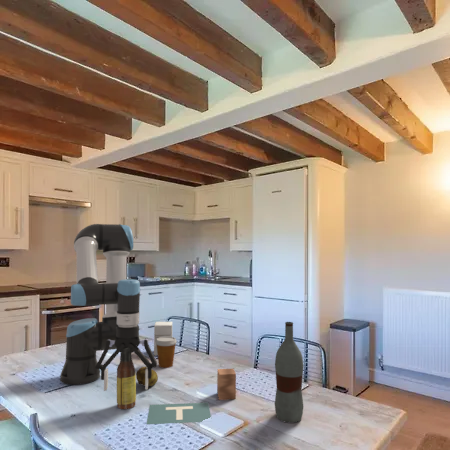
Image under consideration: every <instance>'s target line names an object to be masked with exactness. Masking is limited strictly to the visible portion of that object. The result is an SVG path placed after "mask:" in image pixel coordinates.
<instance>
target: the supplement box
mask: <svg viewBox="0 0 450 450" xmlns="http://www.w3.org/2000/svg"><path fill="white" fill-rule="evenodd" d="M153 327H154V333H153V336H154V337H153V338H154V339H153V355H154V357H156V355H158V353H157V345H156V340H157V338H160V337H173V321H155V323H154V326H153Z"/></svg>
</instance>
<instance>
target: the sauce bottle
mask: <svg viewBox="0 0 450 450" xmlns="http://www.w3.org/2000/svg"><path fill="white" fill-rule="evenodd" d="M119 353H120V358H119V364H118V366H117V367H116V368H117V369H116V403H117V407H116V408H118V409H119V410H120V409H121V410H131V409H133V408H134V407H135V406H136V401H137V389H136V388H137V384H136V381H137V377H136V373H137V370H136V368H135V365H134V361H133V357H132V356H133V355H132V354H133V353H130V348H123V349H122V350H121V352H119Z"/></svg>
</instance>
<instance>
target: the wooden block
mask: <svg viewBox="0 0 450 450" xmlns="http://www.w3.org/2000/svg"><path fill="white" fill-rule="evenodd" d="M216 372H217V375H216V377H217V381H216V383H217V385H216V387H217V388H216V390H217V391H216V394H217V393H218V394H217V398H218V397H219V398H218V400H219V401H222V400H223V401H224V400H237V399H236V398H237V395H236V393H237V373H236V371H235V369H234V368H218V369H217V371H216Z"/></svg>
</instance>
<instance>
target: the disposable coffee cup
mask: <svg viewBox="0 0 450 450" xmlns="http://www.w3.org/2000/svg"><path fill="white" fill-rule="evenodd" d="M177 343H178V342H177V339H176V337H173V336H172V337H160V338H157V340H156V345H157V353H158V356H157V364H158V367H160V368H162V369H163V368H164V369H167V368H168V369H169V368H171V367H173V366H174V358H175V353H176V345H177Z"/></svg>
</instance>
